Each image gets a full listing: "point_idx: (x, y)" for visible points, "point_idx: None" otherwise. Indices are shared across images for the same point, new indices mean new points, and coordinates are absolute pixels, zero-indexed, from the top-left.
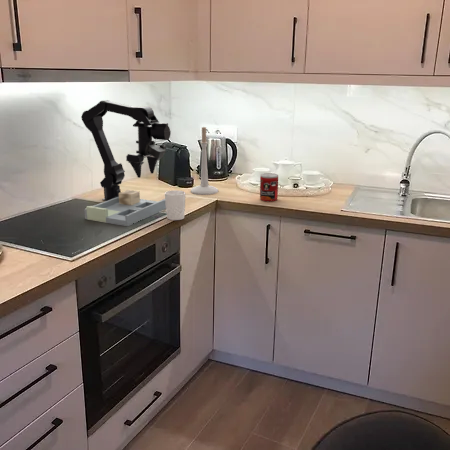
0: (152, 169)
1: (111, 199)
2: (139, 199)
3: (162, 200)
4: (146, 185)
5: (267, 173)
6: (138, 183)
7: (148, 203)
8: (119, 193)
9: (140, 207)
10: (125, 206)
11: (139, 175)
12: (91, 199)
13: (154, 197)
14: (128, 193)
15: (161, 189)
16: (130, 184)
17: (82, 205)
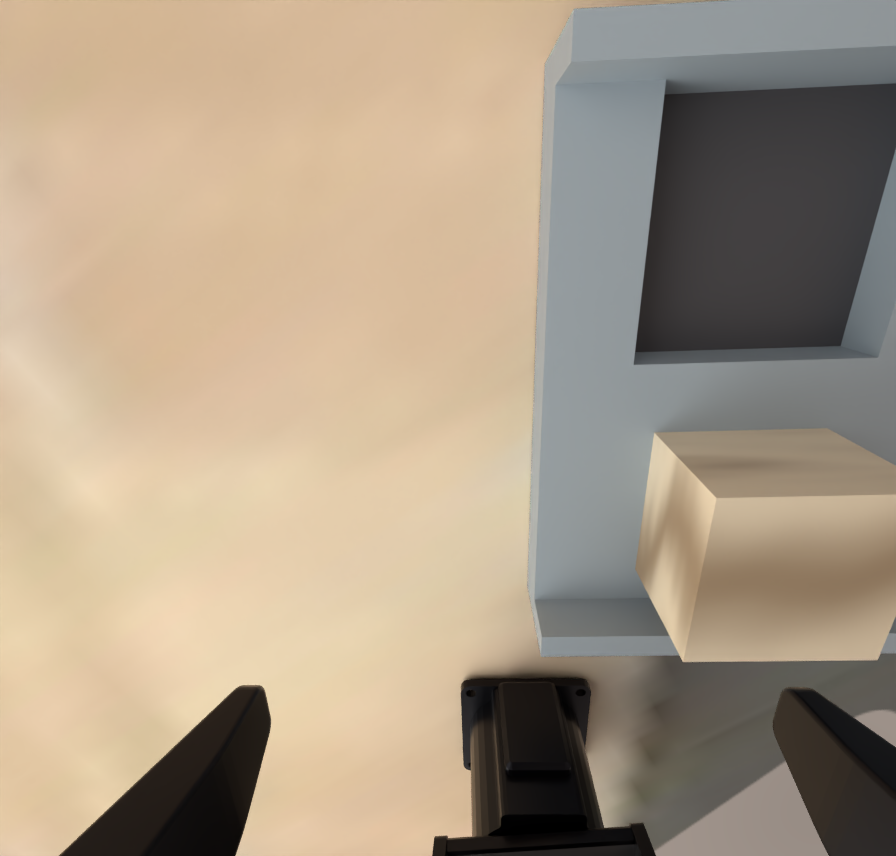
0: (214, 796)
1: None
2: (674, 445)
3: (752, 17)
4: (19, 743)
5: None
6: (28, 808)
7: (631, 332)
8: (875, 646)
9: (742, 352)
10: (885, 455)
11: (873, 740)
12: None
13: (268, 488)
14: (881, 553)
15: (4, 591)
16: None
17: (756, 779)
